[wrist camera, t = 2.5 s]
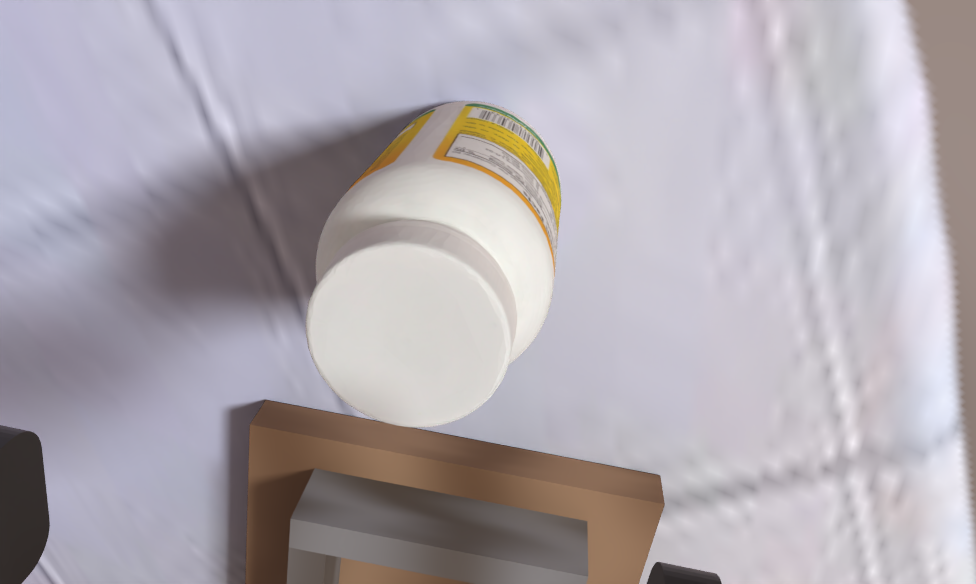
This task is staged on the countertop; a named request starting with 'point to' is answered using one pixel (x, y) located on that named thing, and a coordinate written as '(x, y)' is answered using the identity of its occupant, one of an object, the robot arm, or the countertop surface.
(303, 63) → the countertop surface
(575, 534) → the socket stand
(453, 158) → the supplement bottle
